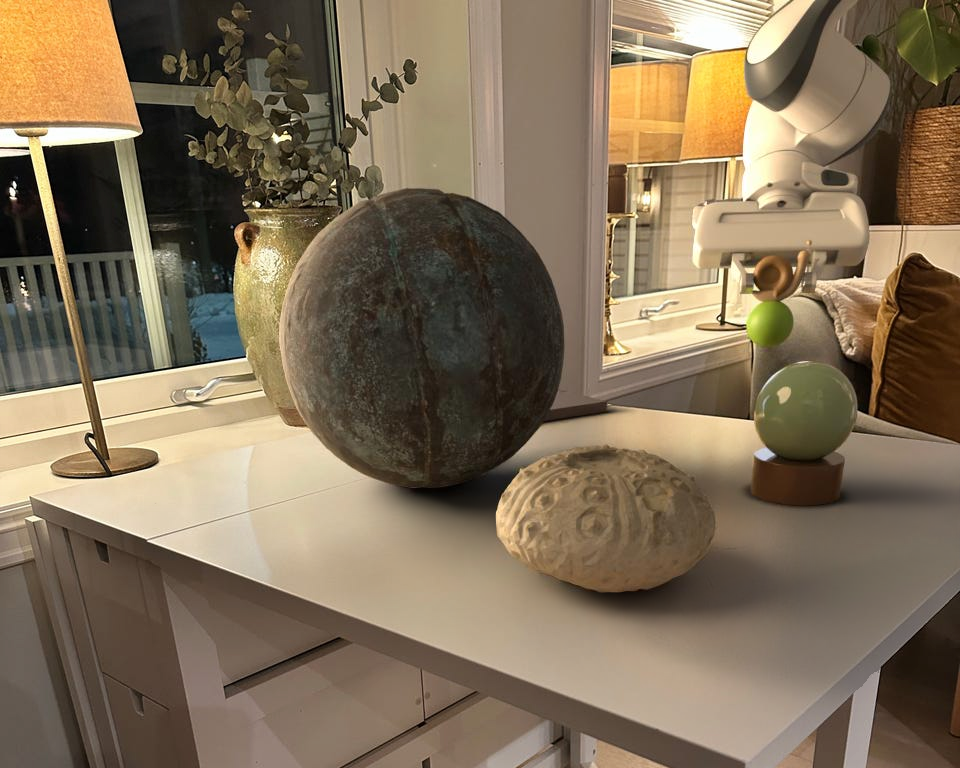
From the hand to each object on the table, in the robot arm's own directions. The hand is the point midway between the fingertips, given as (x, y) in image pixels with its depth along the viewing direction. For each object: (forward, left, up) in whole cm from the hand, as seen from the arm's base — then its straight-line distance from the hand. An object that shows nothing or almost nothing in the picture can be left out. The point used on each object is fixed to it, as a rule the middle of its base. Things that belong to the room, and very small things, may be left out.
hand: (778, 290), depth 108 cm
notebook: (+10, -36, -19) cm, 41 cm away
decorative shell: (+47, +19, -19) cm, 54 cm away
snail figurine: (-1, 0, -7) cm, 7 cm away
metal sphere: (+42, -14, -19) cm, 48 cm away
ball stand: (+15, +15, -18) cm, 28 cm away
